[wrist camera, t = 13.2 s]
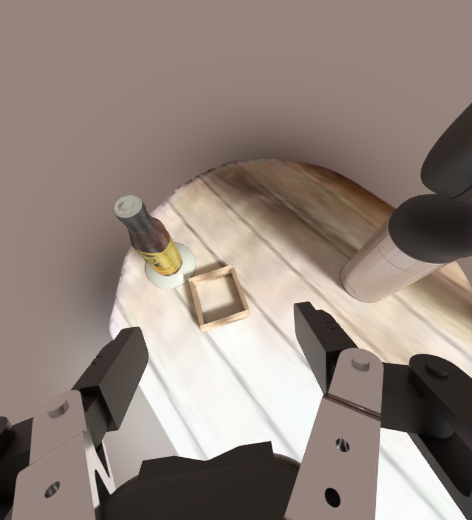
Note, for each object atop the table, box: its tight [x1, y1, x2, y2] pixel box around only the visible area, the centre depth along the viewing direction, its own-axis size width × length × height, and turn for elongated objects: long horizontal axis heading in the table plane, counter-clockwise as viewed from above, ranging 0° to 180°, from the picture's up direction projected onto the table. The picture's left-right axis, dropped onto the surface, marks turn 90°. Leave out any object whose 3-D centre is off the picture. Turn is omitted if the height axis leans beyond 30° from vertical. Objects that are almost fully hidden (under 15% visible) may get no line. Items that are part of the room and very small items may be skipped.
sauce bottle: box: [114, 195, 183, 276], centre depth 39 cm, size 6×6×20 cm
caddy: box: [188, 264, 250, 332], centre depth 43 cm, size 9×10×3 cm
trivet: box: [146, 243, 196, 289], centre depth 48 cm, size 11×11×1 cm
